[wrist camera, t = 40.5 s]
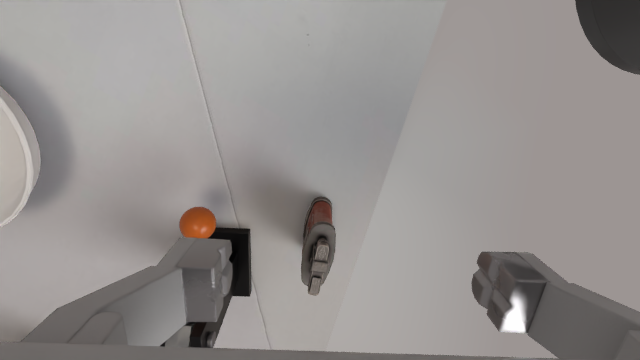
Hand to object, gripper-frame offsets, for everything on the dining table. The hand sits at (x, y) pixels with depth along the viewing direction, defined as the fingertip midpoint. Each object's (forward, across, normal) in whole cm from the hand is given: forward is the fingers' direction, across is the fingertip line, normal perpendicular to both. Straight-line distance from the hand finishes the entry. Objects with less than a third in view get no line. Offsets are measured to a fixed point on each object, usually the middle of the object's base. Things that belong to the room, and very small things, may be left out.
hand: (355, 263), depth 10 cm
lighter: (+27, 0, +13) cm, 30 cm away
